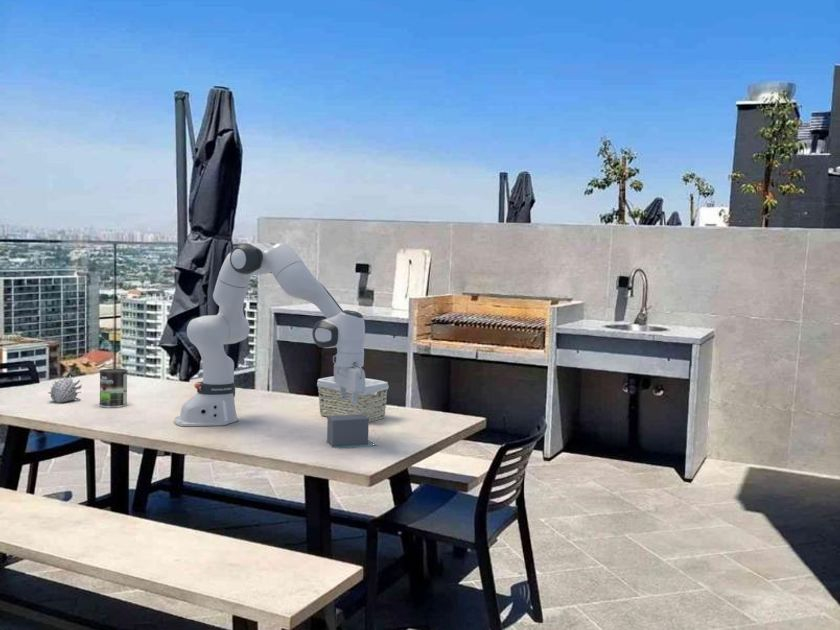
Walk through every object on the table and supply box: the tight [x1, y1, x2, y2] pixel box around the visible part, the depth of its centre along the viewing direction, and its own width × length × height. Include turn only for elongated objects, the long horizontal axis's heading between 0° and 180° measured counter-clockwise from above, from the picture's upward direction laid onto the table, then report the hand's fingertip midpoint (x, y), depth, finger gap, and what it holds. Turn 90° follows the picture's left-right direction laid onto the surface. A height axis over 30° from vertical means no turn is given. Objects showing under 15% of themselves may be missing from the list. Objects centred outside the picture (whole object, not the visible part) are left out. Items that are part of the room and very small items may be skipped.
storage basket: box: [316, 375, 390, 423], centre depth 299 cm, size 24×16×15 cm
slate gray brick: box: [326, 414, 370, 448], centre depth 256 cm, size 12×7×9 cm, turn 111°
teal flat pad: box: [326, 439, 378, 449], centre depth 257 cm, size 14×10×1 cm
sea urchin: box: [47, 374, 82, 404], centre depth 314 cm, size 12×11×12 cm
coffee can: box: [99, 368, 128, 409], centre depth 309 cm, size 10×10×14 cm
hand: (348, 402), depth 256 cm, fingers open, 8 cm apart
